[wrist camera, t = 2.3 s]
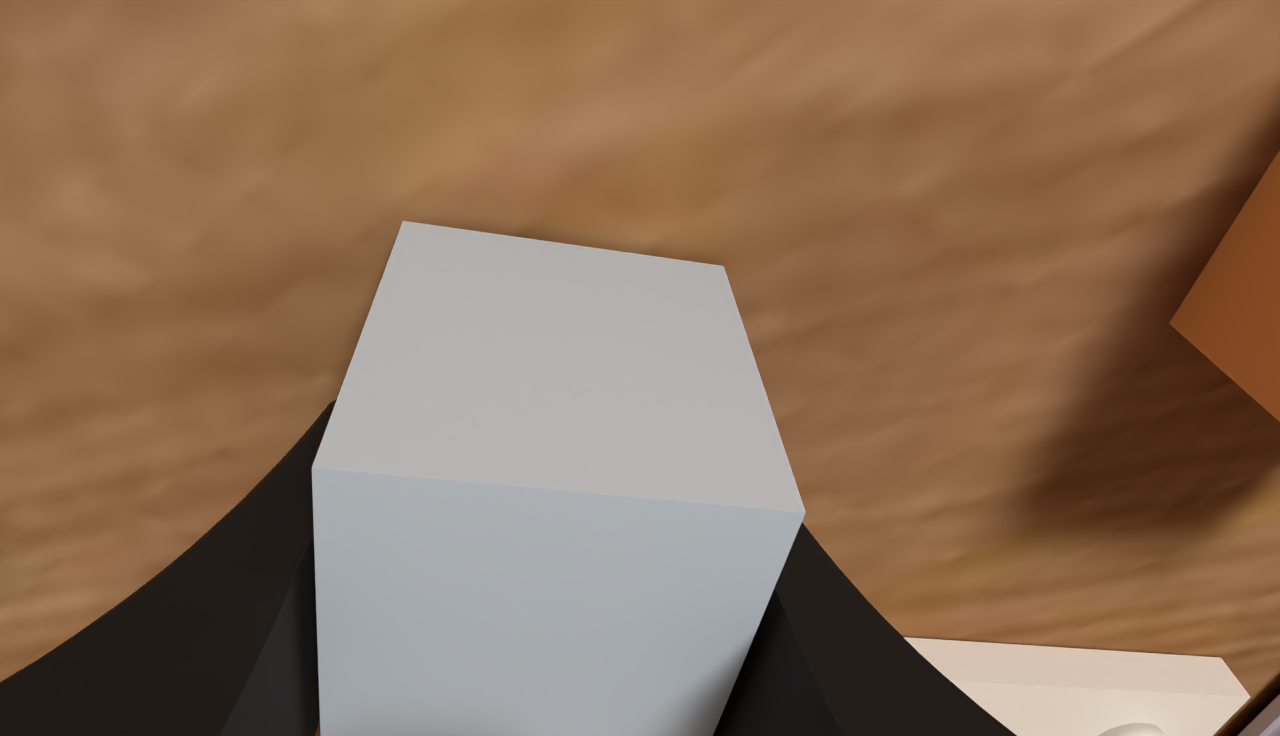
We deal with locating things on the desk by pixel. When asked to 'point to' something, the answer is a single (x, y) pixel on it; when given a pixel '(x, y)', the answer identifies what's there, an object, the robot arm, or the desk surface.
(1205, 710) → the baseplate
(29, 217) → the desk surface
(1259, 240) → the orange brick
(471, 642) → the light grey block
